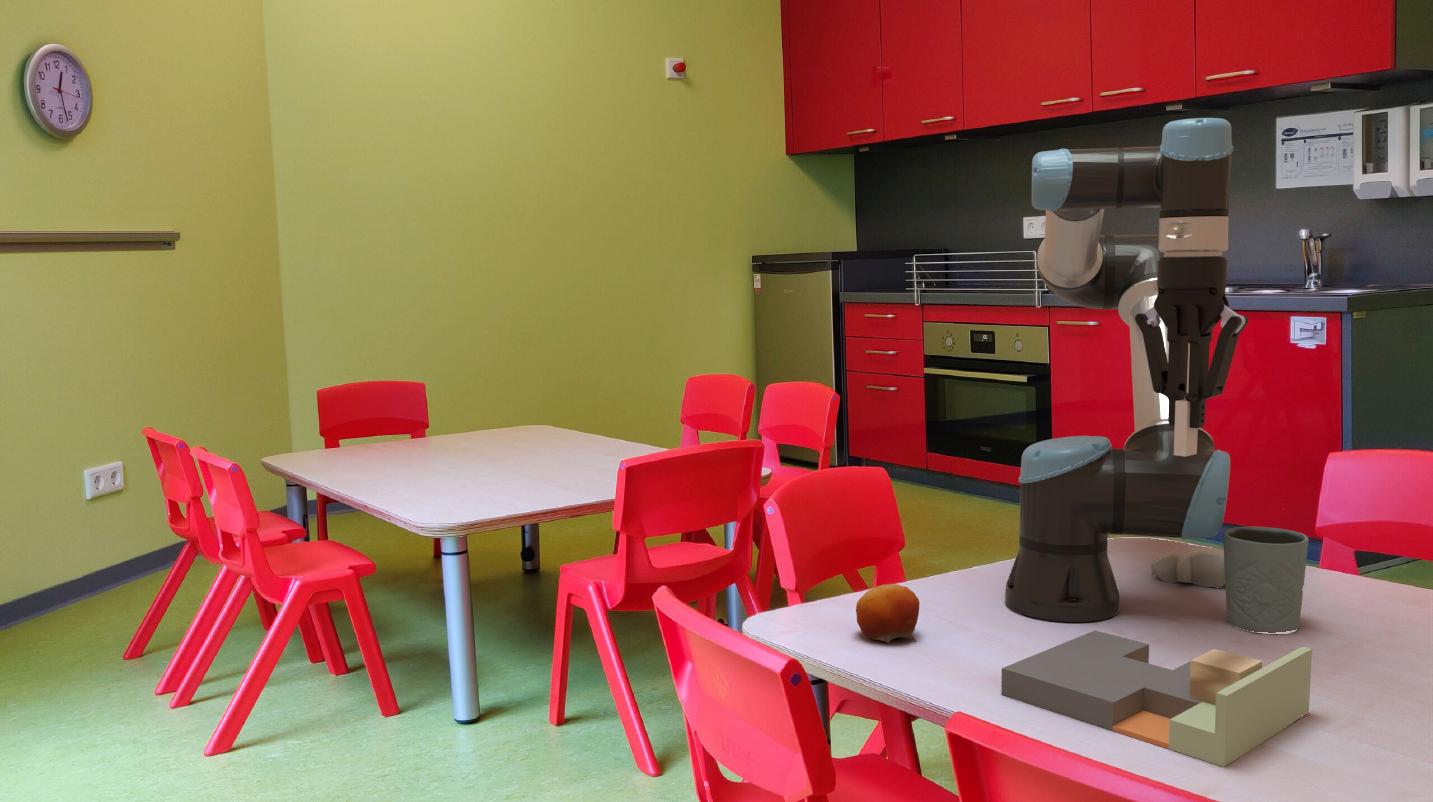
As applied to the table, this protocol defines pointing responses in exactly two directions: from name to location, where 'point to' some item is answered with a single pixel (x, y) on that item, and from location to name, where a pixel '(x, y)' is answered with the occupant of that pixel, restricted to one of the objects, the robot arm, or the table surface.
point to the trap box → (1161, 696)
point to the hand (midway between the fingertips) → (1185, 454)
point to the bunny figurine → (1192, 567)
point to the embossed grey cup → (1264, 577)
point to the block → (1218, 673)
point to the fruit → (888, 612)
